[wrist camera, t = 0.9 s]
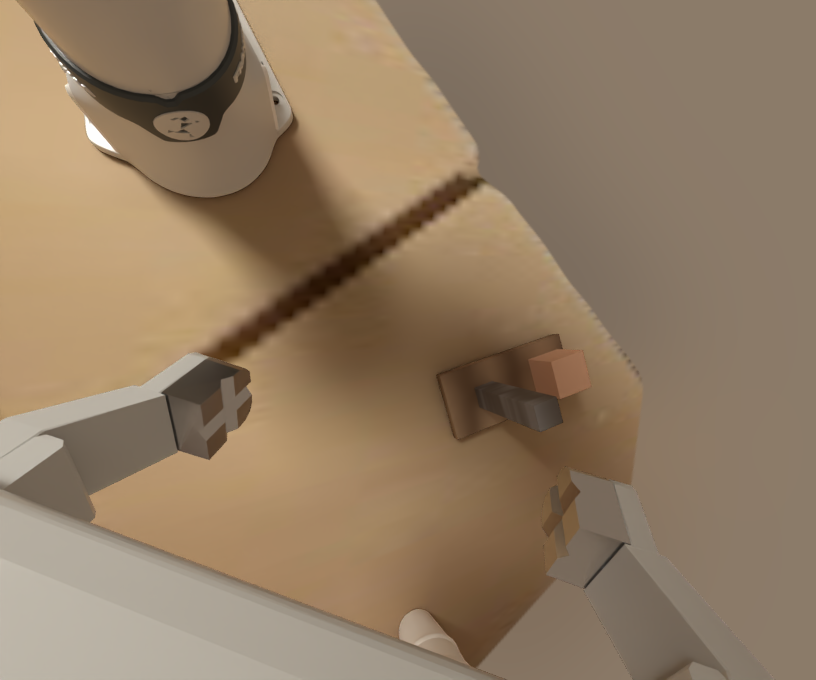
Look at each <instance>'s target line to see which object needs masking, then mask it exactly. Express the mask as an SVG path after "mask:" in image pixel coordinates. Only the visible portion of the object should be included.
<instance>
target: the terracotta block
mask: <svg viewBox="0 0 816 680" xmlns="http://www.w3.org/2000/svg"><path fill="white" fill-rule="evenodd" d="M528 362H529V365H530V369H531V373H532V377H533V381H534V385H535V388H536V392H539V393H543V394H548V395H552V396H556V397H557V399H563V398H565V397H568V396H570V395H573V394H575V393H577V392H580V391H582V390H585V389H587V388H590V387H592V386H591V382H590V378H589V374H588V370H587V366H586V362H585V358H584V353H583V350H567V349H556V350H553V351H550V352H548V353H545V354H542V355H539V356H537V357H534V358H531V359H528Z"/></svg>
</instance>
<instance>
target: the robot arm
mask: <svg viewBox="0 0 816 680" xmlns="http://www.w3.org/2000/svg"><path fill="white" fill-rule="evenodd" d="M16 1H17V2H18V3H19V4H20V6H21V7H22V8H23V9H24V10H25V11H26V12H27V13H28V14H29V15H30V17H31V18H32V19H33V20H34V23H35V25H36V27H37V29H38V31H39V33H40V35H41V36H42V38H43V39H44V41H45V42H46V44H47V45H48V47H49V48H50V50H51V52H52V53H53V55H54V56H55V58H56V59H57V60H58V61H59V64H60V66H61V68H62V70H63V71H64V72H65V73H66V76H67V80H68V84H66V85H65V88H66V91H67V93H68V94H69V96H70V97H71V99H72V100H73V101H74V102H75V104H76V105H77V106H78V107H79V108H80V110H81V111H82V112H83V113H84V118H85V127H86V133H87V137H88V139H89V140H90V141H91V143H92V144H93V145H94V146H95V147H96V148H97V149H99V150H100V151H102V152H104V153H106V154H109V155H111V156H114V157H117V158H119V159H122V160H125V161H127V162H129V163H130V164H132V165H133V166H135V167H136V168H137V169H138V170H140V171H141V172H142V173H143V174H144V175H146V176H147V177H148V178H149V179H151V180H152V181H154V182H155V183H157V184H159V185H161V186H162V187H164V188H167V189H169V190H171V191H174V192H177V193H180V194H183V195H188V196H193V197H218V196H224V195H228V194H231V193H234V192H236V191H239V190H241V189H243V188H244V187H246V186H247V185H249V184H250V183H252V182H253V181H254V180H255V179H256V178H257V177H258V176H259V175H260V174H261V173H262V171H263V170H264V168H265V167H266V165H267V163H268V161H269V159H270V157H271V154H272V150H273V147H274V145H275V142H276V140H277V138H278V137H279V136H280V135H282V134H283V133H284V132H285V131H286V129H287V128H288V127H289V126H290V124H291V123H292V120H293V114H292V110H291V107H290V105H289V103H288V101H287V99H286V97H285V95H284V93H283V91H282V89H281V87H280V85H279V83H278V81H277V79H276V77H275V75H274V73H273V71H272V69H271V67H270V65H269V63H268V61H267V59H266V57H265V56H264V54H263V52H262V50H261V48H260V46H259V44H258V42H257V40H256V38H255V36H254V34H253V32H252V30H251V28H250V26H249V24H248V22H247V20H246V18H245V16H244V14H243V12H242V10H241V8H240V6H239V4H238V2H237V0H16ZM274 100H275V101H278V102H279V103H278V104H277V105H274ZM250 382H251V379H250V371H248V370H247V369H245V368H242V367H239V366H236V365H233V364H230V363H227V362H224V361H221V360H218V359H215V358H211V357H208V356H205V355H202V354H199V353H196V352H194V353H188V354H187V355H186V356H184V357H183V358H181V359H180V360H178V361H177V362H175V363H174V364H172V365H171V366H170V367H168V368H167V369H165V370H164V371H162V372H161V373H159V374H158V375H156V376H155V377H154V378H152V379H151V380H149V381H148V382H146V383H145V384H143V385H142V386H140V387H139V386H136V385H133V386H129V387H125V388H121V389H117V390H113V391H109V392H105V393H102V394H98V395H94V396H90V397H86V398H82V399H78V400H74V401H70V402H66V403H62V404H59V405H55V406H51V407H47V408H43V409H39V410H35V411H31V412H27V413H23V414H19V415H15V416H12V417H8V418H5V419H3V420H2V421H0V680H506V679H503V678H500V677H498V676H496V675H493V674H490V673H488V672H485V671H482V670H480V669H477V668H474V667H472V666H469V665H466V664H464V663H461V662H458V661H456V660H453V659H451V658H448V657H445V656H443V655H440V654H437V653H435V652H432V651H429V650H427V649H424V648H421V647H419V646H416V645H413V644H411V643H408V642H406V641H403V640H400V639H398V638H395V637H392V636H390V635H387V634H384V633H382V632H379V631H376V630H374V629H371V628H368V627H366V626H363V625H361V624H358V623H355V622H353V621H350V620H347V619H345V618H342V617H339V616H337V615H334V614H331V613H329V612H326V611H323V610H321V609H318V608H316V607H313V606H310V605H308V604H305V603H302V602H300V601H297V600H294V599H292V598H289V597H286V596H284V595H281V594H278V593H276V592H273V591H271V590H268V589H265V588H263V587H260V586H257V585H255V584H252V583H249V582H247V581H244V580H241V579H239V578H236V577H233V576H231V575H228V574H226V573H223V572H220V571H218V570H215V569H212V568H210V567H207V566H204V565H202V564H199V563H196V562H194V561H191V560H188V559H186V558H183V557H180V556H178V555H175V554H172V553H170V552H167V551H165V550H162V549H159V548H157V547H154V546H151V545H149V544H146V543H143V542H141V541H138V540H135V539H133V538H130V537H127V536H125V535H122V534H119V533H117V532H114V531H111V530H109V529H106V528H103V527H101V526H98V525H96V524H93V523H90V522H91V521H92V520H93V519H94V518H95V514H96V510H95V508H94V506H93V504H92V502H91V499H90V497H89V495H91V494H93V493H95V492H97V491H99V490H101V489H103V488H105V487H108V486H110V485H112V484H114V483H116V482H118V481H120V480H122V479H124V478H126V477H128V476H130V475H132V474H134V473H136V472H138V471H140V470H142V469H144V468H146V467H148V466H151V465H153V464H155V463H157V462H159V461H161V460H163V459H165V458H167V457H169V456H171V455H173V454H175V453H177V452H178V450H179V451H182V452H185V453H188V454H192V455H195V456H198V457H201V458H205V459H208V460H210V459H211V457H212V456H213V455H214V454H215V453H216V452H217V451H218V450H219V449H220V448H221V447H222V446H223V444H224V443H225V442H226V441H227V433H228V432H230V431H233V430H235V429H238V428H239V427H240V426H241V425H242V423H243V422H244V421H245V420H246V418H247V416H248V414H249V412H250V409H251V404H252V395H251V393H250V392H249V390H248V389H247V387H246V386H247V385H248V384H249V383H250ZM557 483H558V485H557V486H554V487H552V488H549V490H548V492H547V494H546V496H545V498H544V502H543V506H542V513H541V522H542V529H543V530H544V532H545V533H546V535H547V536H548V539H547V541H546V542H545V544H544V545H543V549H544V561H545V573H546V575H548V576H551V577H553V578H556V579H559V580H562V581H564V582H567V583H570V584H572V585H576V586H578V587H580V588H583V589H585V590H584V592H585V594H586V596H587V598H588V600H589V601H590V603H591V605H592V607H593V609H594V611H595V612H596V614H597V616H598V618H599V620H600V621H601V623H602V625H603V627H604V629H605V630H606V632H607V634H608V636H609V638H610V639H611V641H612V643H613V645H614V647H615V648H616V650H617V652H618V654H619V656H620V658H621V659H622V661H623V663H624V665H625V667H626V669H627V670H628V672H629V674H630V676H631V677H632V679H633V680H775V679H774V678H773V677H772V675H771V674H770V673H769V672H768V671H767V670H766V669H765V668H764V666H763V665H762V664H761V663H760V662H759V661H758V660H757V659H756V657H755V656H754V655H753V654H752V653H751V652H750V651H749V650H748V649H747V647H746V646H745V645H744V644H743V643H742V642H741V641H740V639H739V638H738V637H737V636H736V635H735V634H734V633H733V632H732V630H731V629H730V628H729V627H728V626H727V625H726V624H725V623H724V622H723V621H722V619H721V618H720V617H719V616H718V615H717V614H716V612H715V611H714V610H713V609H712V608H711V607H710V606H709V605H708V603H707V602H706V601H705V600H704V599H703V598H702V597H701V596H700V594H699V593H698V592H697V591H696V590H695V589H694V588H693V587H692V585H691V584H690V583H689V582H688V581H687V580H686V579H685V578H684V576H682V574H681V573H680V572H679V571H678V570H677V569H676V568H675V566H674V565H673V564H672V563H671V562H670V561H669V560H668V558H667V557H664V556H661V555H659V553H658V550H657V547H656V545H655V542H654V539H653V536H652V534H651V531H650V528H649V525H648V522H647V520H646V516H645V514H644V511H643V508H642V505H641V502H640V500H639V497H638V494H637V491H636V490H635V488H634V487H633V486H631V485H628V484H624V483H621V482H617V481H614V480H610V479H606V478H603V477H600V476H596V475H593V474H590V473H586V472H583V471H579V470H576V469H573V468H569V467H566V466H565V467H564V468H562V469H561V470H560V472H559V473H558V475H557Z"/></svg>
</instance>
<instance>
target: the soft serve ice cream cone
mask: <svg viewBox="0 0 816 680" xmlns="http://www.w3.org/2000/svg"><path fill="white" fill-rule="evenodd" d="M399 639H400V640H403V641H406V642H408V643H411V644H413V645H416V646H419V647H421V648H424V649H427V650H429V651H432V652H435V653H437V654H440V655H443V656H445V657H448V658H451V659H453V660H456V661H458V662H461V663H464V664H466V665H469V664H468V663H467V662H466V661H465V660H464V658H463V656H462V655H461V653H460V652H459V648H458V646H457V644H456V643H455V641H454V640H453V639H452V638H451V637H449V636H448V635H447V634H446V633H445V632H444V630H443V629H442V628H441V627H440V625H439V624H438V623H437V622H436V621H435V619H434V618H433V617H432V616H431V614H430V613H429V612H428V611H426V610H423V609H415V610H412V611H410V612H409V613H407V614H406V615H405V616H404V618H403V619H402V621H401V623H400V626H399ZM469 666H470V665H469Z"/></svg>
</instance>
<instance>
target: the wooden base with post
mask: <svg viewBox="0 0 816 680" xmlns="http://www.w3.org/2000/svg"><path fill="white" fill-rule="evenodd" d="M556 349H563V348H562V345H561V341H560V337H559V334H552V335H549V336H547V337H544V338H541V339H538V340H535V341H532V342H529V343H526V344H524V345H521V346H518V347H515V348H512V349H509V350H506V351H503V352H501V353H498V354H495V355H492V356H489V357H486V358H483V359H480V360H478V361H475V362H472V363H469V364H466V365H463V366H460V367H457V368H454V369H452V370H449V371H446V372H443V373H440V374H437V379H438V382H439V386H440V389H441V393H442V396H443V400H444V403H445V407H446V411H447V414H448V418H449V421H450V425H451V428H452V432H453V435H454V437H455V438H456V439H461V438H463V437H466V436H468V435H471V434H473V433H476V432H478V431H481V430H483V429H486V428H488V427H491V426H493V425H496V424H498V423H501V422H503V421H506V420H508V419H509V420H512V421H514V422H517V423H519V424H522V425H524V426H527V427H529V428H531V429H534V430H536V431H539V432H542V431H544V430H547V429H549V428H551V427H554V426H556V425H558V424H561V423H563V420H562V416H561V412H560V408H559V404H558V399H557V397H556V396H552V395H548V394H543V393H539V392H536V388H535V385H534V381H533V377H532V373H531V369H530V365H529V362H528V359H531V358H534V357H537V356H539V355H542V354H545V353H548V352H550V351H553V350H556Z"/></svg>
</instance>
